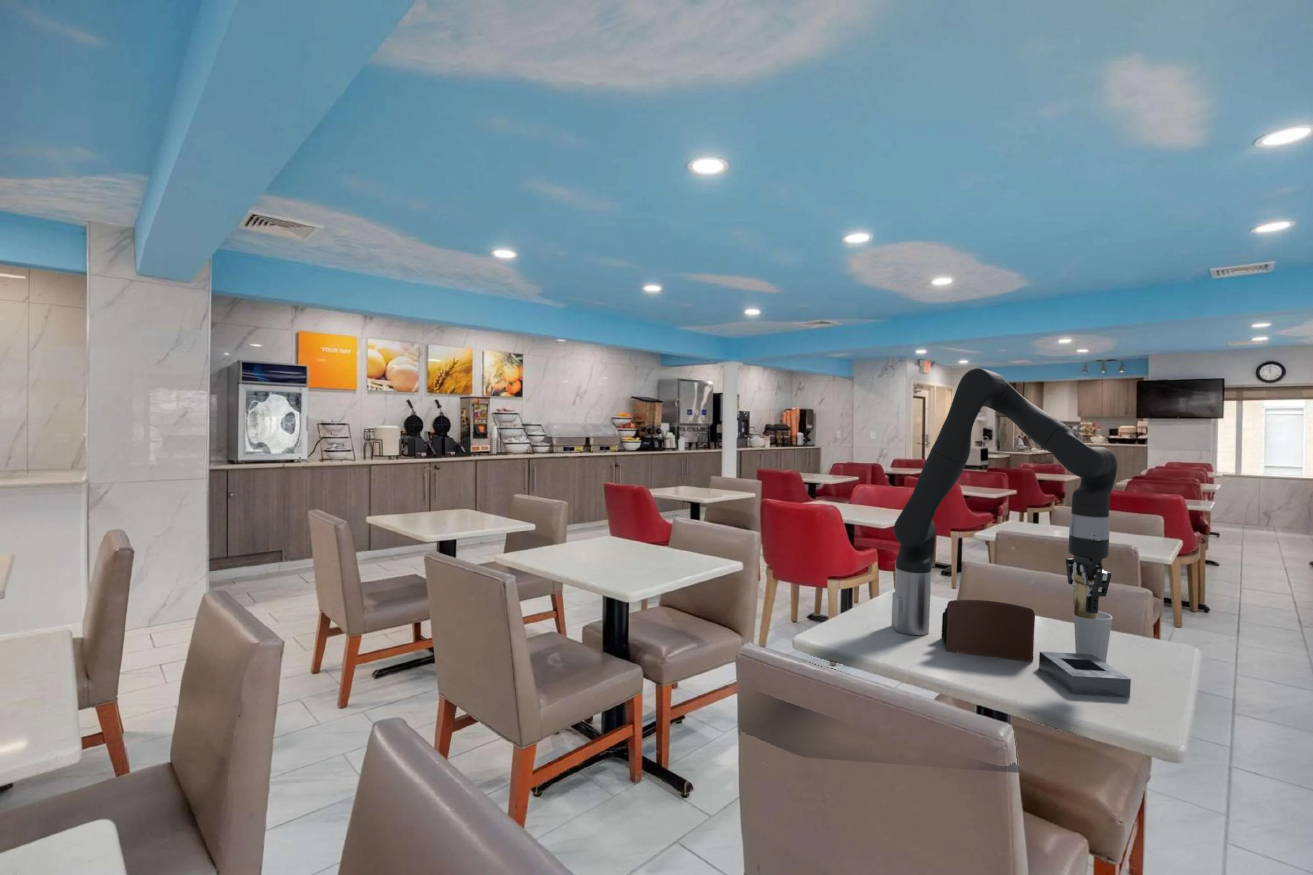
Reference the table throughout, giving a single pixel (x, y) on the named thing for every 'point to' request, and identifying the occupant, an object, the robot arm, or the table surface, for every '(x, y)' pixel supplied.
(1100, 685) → the grey hollow block
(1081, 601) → the fitting
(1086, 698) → the table surface
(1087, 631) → the cup
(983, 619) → the letter holder
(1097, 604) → the robot arm
